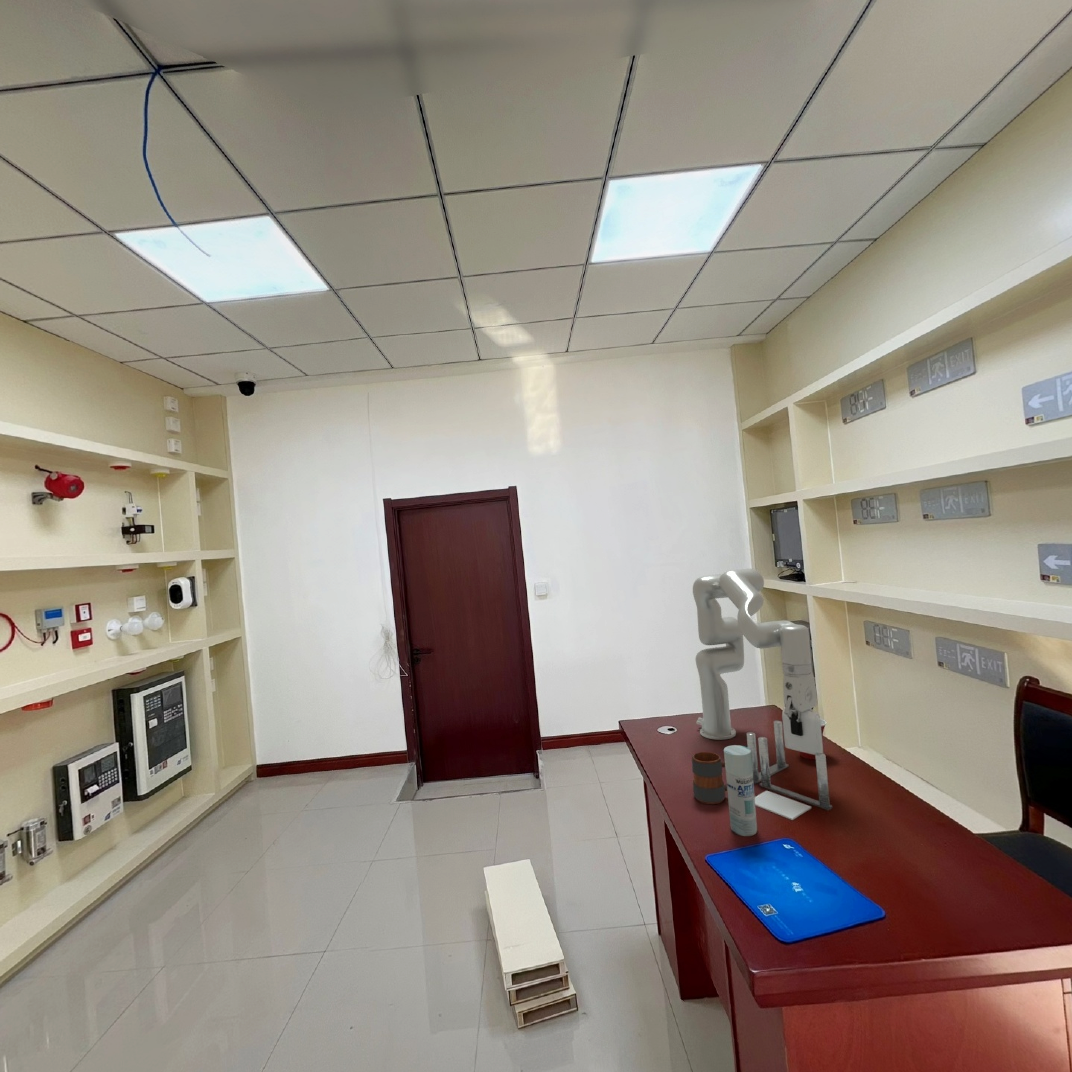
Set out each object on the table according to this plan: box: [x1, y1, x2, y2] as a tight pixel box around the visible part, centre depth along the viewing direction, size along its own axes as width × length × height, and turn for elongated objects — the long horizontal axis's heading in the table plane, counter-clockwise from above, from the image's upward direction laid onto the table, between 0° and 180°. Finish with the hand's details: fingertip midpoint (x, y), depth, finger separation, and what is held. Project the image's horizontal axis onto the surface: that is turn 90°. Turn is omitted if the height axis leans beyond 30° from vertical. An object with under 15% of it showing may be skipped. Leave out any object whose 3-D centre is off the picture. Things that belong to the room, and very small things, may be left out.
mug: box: [691, 751, 728, 805], centre depth 155 cm, size 9×12×12 cm
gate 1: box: [746, 720, 789, 784], centre depth 168 cm, size 3×17×14 cm, turn 124°
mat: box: [755, 790, 812, 821], centre depth 148 cm, size 13×9×1 cm
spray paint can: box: [723, 744, 758, 837], centre depth 138 cm, size 6×6×20 cm
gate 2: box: [757, 736, 833, 811], centre depth 152 cm, size 20×2×14 cm, turn 34°
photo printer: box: [781, 707, 824, 755], centre depth 156 cm, size 10×4×12 cm, turn 40°
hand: (802, 731), depth 156 cm, fingers closed on photo printer, 4 cm apart
